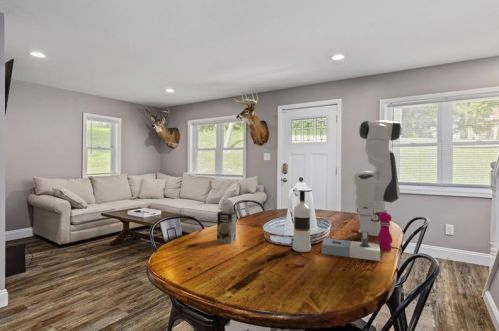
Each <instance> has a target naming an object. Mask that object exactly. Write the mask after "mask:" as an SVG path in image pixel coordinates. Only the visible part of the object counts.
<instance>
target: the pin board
mask: <svg viewBox="0 0 499 331" xmlns="http://www.w3.org/2000/svg"><path fill="white" fill-rule="evenodd" d="M361 243H362V241H356V240H354V241H353V240H345V239H337V238H335V239H334V238H326V237H325V238H323V241H322V243H321V254H323V255H331V256H337V257H347V258H354V259H360V260H361V259H362V260H370V261H378V262H381V249H380V246H379V243H375V242H374V243H373V242H368V247H361Z"/></svg>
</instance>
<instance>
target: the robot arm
mask: <svg viewBox="0 0 499 331" xmlns="http://www.w3.org/2000/svg"><path fill="white" fill-rule="evenodd" d="M402 128H403V127H402V124H401V123H400V122H398V121H395V120H394V121H390V120H370V121H369V120H365V121H363V122H361V123H360V125H359V127H358V133H359V137H360V138H361V139H363V140H365V149H364V152H365V153H366V155H367V162H368V164H370V165H372V166H373V167H375V169H376V170H362V171H357V172H356V173H355V174H354V176H353V184H354V185H355V195H356V197H355V212H356V213H357V216H358V218H359V228H360V229H358V233H361V234H362V232H363V238H364V239H367V232H368V236H372V237H377V236H378V234H379V232H380V229H381V225H380V220H379V215H380V214H381V213H384V212H383V210H386V209H385V206H386V203H390V204H391V203H394V202H396V201H397V200H399V198H400V193H401V191H400V190H401V189H400V186H399V182H398V181H399V178H398V171H397V170H398V169H397V162H396V156H395V154H394V152H393V151H391V150H390V141H391V142H393V141H398V139H399V138H400V137H401V135H402V133H403V129H402ZM390 234H391V235H392V233H391V232H390Z"/></svg>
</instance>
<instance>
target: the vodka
mask: <svg viewBox="0 0 499 331" xmlns="http://www.w3.org/2000/svg"><path fill="white" fill-rule="evenodd" d="M305 192H306V191H305V190H299V204H296V205H295V206H294V208H293V217H294V218H293V243H292V249H293V250H294V251H295V252H299V253H308V252H310V251H311V250H312V245H311V207H310V206H309V205H308V204H306V200H305V199H306V193H305Z"/></svg>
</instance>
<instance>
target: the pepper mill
mask: <svg viewBox="0 0 499 331" xmlns="http://www.w3.org/2000/svg"><path fill="white" fill-rule="evenodd" d="M383 212H384V213H381V214H380V215H379V220H380V225H381V229H380V232H379V234H378V236H376V241H377V242H378V244H379V246H380V250H385V251H391V249H392V245H391V244H392V243H393V237H392V233H391V231H390V226H391V221H392V215H391V214H390V213H388V211H387V209H385V210H383ZM390 233H391V234H390Z"/></svg>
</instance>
